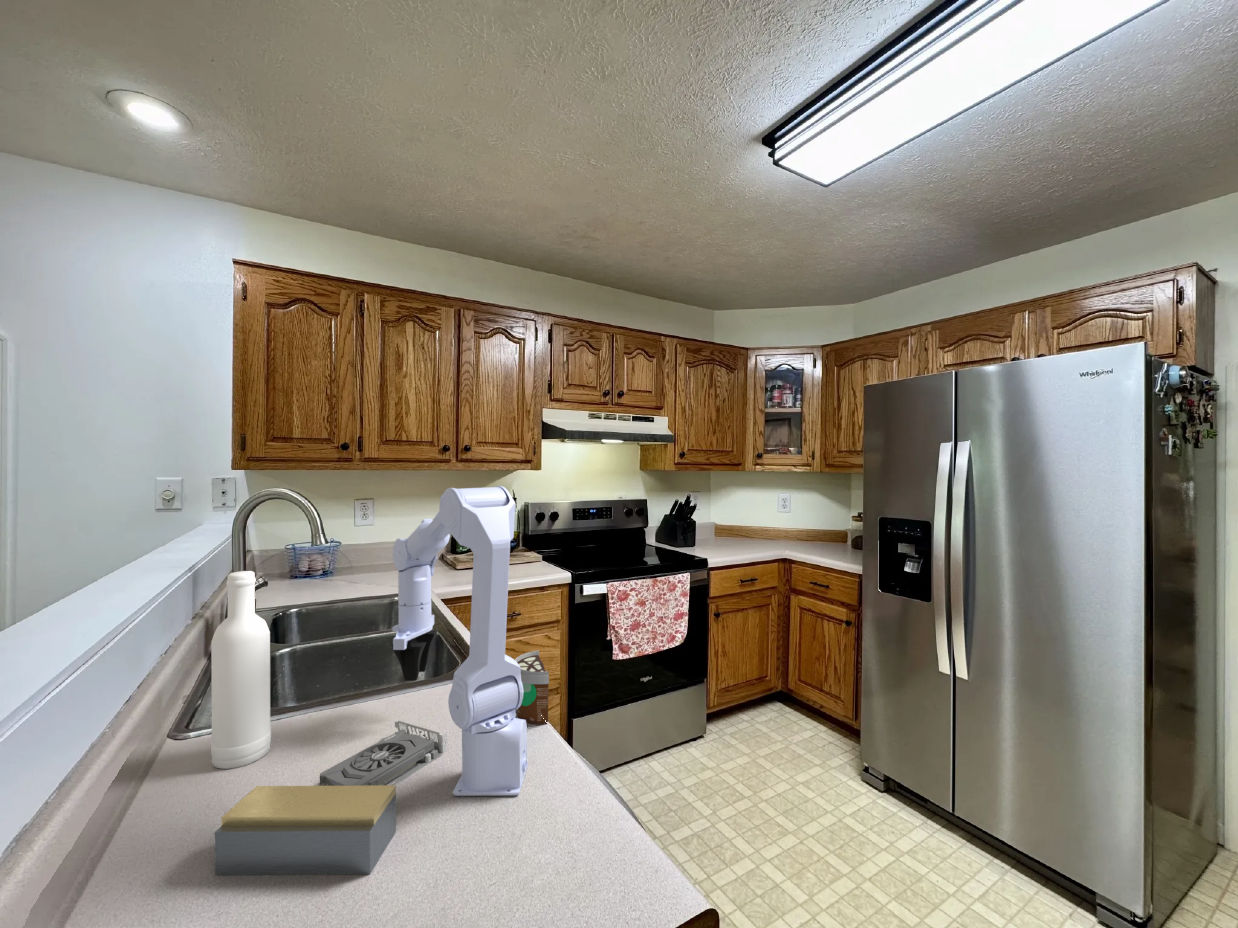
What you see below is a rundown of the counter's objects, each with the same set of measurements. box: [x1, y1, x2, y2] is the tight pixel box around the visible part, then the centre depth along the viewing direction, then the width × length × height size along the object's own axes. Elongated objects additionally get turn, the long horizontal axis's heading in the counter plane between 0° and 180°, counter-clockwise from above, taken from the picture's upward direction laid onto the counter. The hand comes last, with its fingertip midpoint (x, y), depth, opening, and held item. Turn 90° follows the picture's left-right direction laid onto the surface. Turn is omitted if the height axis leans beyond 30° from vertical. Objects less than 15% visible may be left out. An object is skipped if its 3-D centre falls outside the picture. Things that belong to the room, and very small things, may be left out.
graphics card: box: [319, 719, 448, 786], centre depth 82 cm, size 17×4×12 cm
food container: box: [514, 650, 550, 726], centre depth 99 cm, size 12×6×10 cm, turn 17°
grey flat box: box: [214, 784, 397, 876], centre depth 64 cm, size 18×7×6 cm, turn 90°
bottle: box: [210, 570, 272, 770], centre depth 86 cm, size 8×8×30 cm
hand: (415, 675), depth 97 cm, fingers open, 3 cm apart
